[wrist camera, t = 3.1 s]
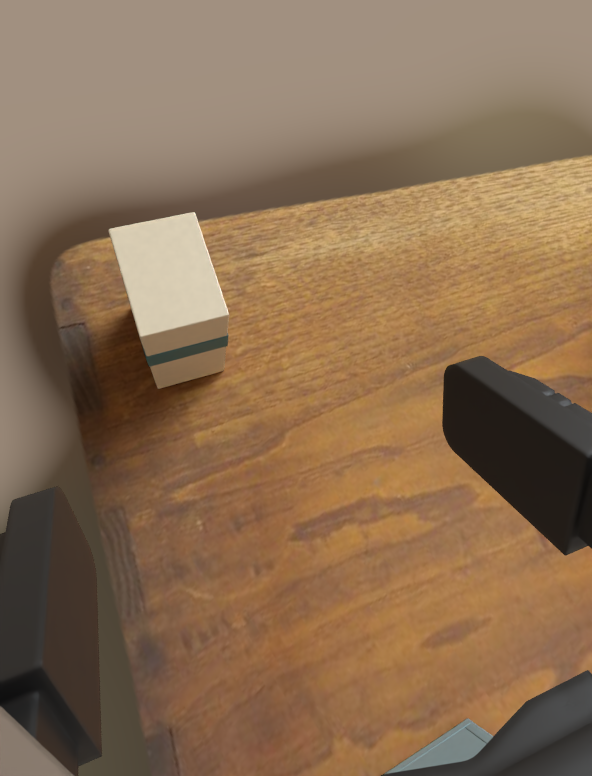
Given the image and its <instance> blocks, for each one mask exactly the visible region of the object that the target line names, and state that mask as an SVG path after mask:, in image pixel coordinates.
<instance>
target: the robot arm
mask: <svg viewBox="0 0 592 776" xmlns="http://www.w3.org/2000/svg"><path fill="white" fill-rule="evenodd" d="M442 424H443V431H444V435H445V438H446V440H447V442H448V444H449V446H450V447H451V448H452V450H453V451H454V452H455V453H456V454H457V455H458V456H459V457H460V458H462V459H463V460H464V461H465V462H466V463H467V464H468V465H469V466H470V467H471V468H472V469H473V470H474V471H475V472H476V473H478V474H479V475H480V476H481V477H482V478H483V479H484V480H485V481H486V482H487V483H488V484H489V485H490V486H491V487H493V488H494V489H495V490H496V491H497V492H498V493H499V494H500V495H501V496H502V497H503V498H504V499H505V500H506V501H507V502H509V503H510V504H511V505H512V506H513V507H514V508H515V509H516V510H517V511H518V512H519V513H520V514H521V515H522V516H523V517H525V518H526V519H527V520H528V521H529V522H530V523H531V524H532V525H533V526H534V527H535V528H536V529H537V530H538V531H539V532H541V533H542V534H543V535H544V536H545V537H546V538H547V539H548V540H549V541H550V542H551V543H552V544H553V545H554V546H556V547H557V548H558V549H559V550H560V551H561V552H562V553H563V554H564V555H565V556H566V555H568V554H570V553H573V552H575V551H577V550H579V549H582V548H584V547H586V546H590V547H591V548H592V413H591V412H589V411H587V410H586V409H584V408H582V407H581V406H579V405H577V404H576V403H574V404H572V403H571V400H569V399H568V398H566V397H564V396H563V395H561V394H559V393H557V394H555V392H554V390H553V389H551V388H549V387H548V386H546V385H544V384H543V383H541V382H540V381H538V380H536V379H535V378H532V377H528V376H525V375H522V374H519V373H516V372H512V371H507V370H506V369H504V368H502V367H501V366H499V365H498V364H496V363H494V362H493V361H491V360H490V359H488V358H486V357H484V356H478V357H475V358H472V359H469V360H465V361H462V362H459V363H456V364H452V365H449V366H448V367H447V368H446V370H445V373H444V391H443V421H442ZM101 756H102V747H101V711H100V677H99V644H98V611H97V578H96V569H95V564H94V559H93V555H92V552H91V549H90V547H89V545H88V542H87V540H86V538H85V536H84V534H83V532H82V530H81V528H80V525H79V523H78V521H77V519H76V517H75V515H74V513H73V511H72V509H71V507H70V505H69V503H68V501H67V499H66V497H65V495H64V493H63V491H62V490H61V488H60V487H58V486H56V487H53V488H50V489H46V490H44V491H40V492H37V493H34V494H30V495H27V496H24V497H21V498H17V499H15V500H13V501H12V503H11V506H10V511H9V517H8V522H7V528H6V532H5V533H2V534H0V776H78V766H81V765H83V764H85V763H88V762H90V761H92V760H94V759H97V758H99V757H101ZM381 776H592V674H591V673H590V672H589V671H588V670H587V671H585V672H583V673H581V674H579V675H577V676H575V677H573V678H571V679H570V680H568V681H566V682H564V683H562V684H560V685H558V686H556V687H554V688H552V689H550V690H548V691H546V692H544V693H542V694H540V695H538V696H536V697H534V698H532V699H530V700H528V701H526V702H525V704H524V705H523V706H522V707H521V708H520V709H519V710H518V711H517V712H516V713H515V714H514V715H513V716H512V717H511V718H510V720H509V721H508V722H507V723H506V724H505V725H504V726H503V727H502V728H501V729H500V730H499V731H498V732H497V733H496V734H495V736H494V737H493V738H492V739H491V740H490V741H489V742H488V743H487V744H486V745H485V746H484V747H483V748H482V749H481V750H480V752H479V753H478V754H476V755H475V756H474V757H473V758H471V759H469V760H466V761H462V762H455V763H449V764H443V765H437V766H431V767H425V768H419V769H413V770H406V771H400V772H394V773H388V774H383V775H381Z"/></svg>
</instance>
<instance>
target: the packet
mask: <svg viewBox="0 0 592 776" xmlns="http://www.w3.org/2000/svg"><path fill="white" fill-rule="evenodd" d="M109 234H110V237H111V241H112V244H113V248H114V251H115V255H116V258H117V261H118V265H119V268H120V272H121V275H122V279H123V282H124V285H125V289H126V292H127V296H128V299H129V303H130V306H131V309H132V313H133V316H134V320H135V323H136V327H137V330H138V333H139V337H140V340H141V343H142V347H143V350H144V354H145V357H146V360H147V363H148V366H149V367H150V368H151V371H152V374H153V377H154V380H155V383H156V385H157V388H158V389H160V388H164V387H167V386H171V385H175V384H178V383H182V382H185V381H189V380H193V379H196V378H200V377H203V376H207V375H211V374H214V373H218V372H221V371H224V365H225V354H226V346H227V345H228V333H227V332H228V321H229V313H228V310H227V307H226V304H225V301H224V298H223V295H222V292H221V289H220V286H219V283H218V280H217V277H216V274H215V271H214V268H213V265H212V262H211V259H210V256H209V253H208V250H207V247H206V244H205V241H204V238H203V235H202V232H201V229H200V226H199V223H198V220H197V218H196V215H195V213H194V212H192V213H187V214H182V215H177V216H172V217H167V218H162V219H157V220H152V221H147V222H142V223H137V224H132V225H127V226H122V227H117V228H112V229H109Z"/></svg>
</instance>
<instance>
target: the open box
mask: <svg viewBox="0 0 592 776" xmlns="http://www.w3.org/2000/svg"><path fill="white" fill-rule="evenodd" d="M492 738H493V736H492V735H491V734H489V733H488V732H486V731H485V730H484V729H482V728H481V727H479V726H478V725H476V724H475V723H474V722H472V721H471V720H470V719H466V720H464V721H463V722H461V723H460V724H458V725H457V726H455V727H454V728H452V729H451V730H449V731H448V732H446V733H445V734H443V735H442V736H441V737H439V738H438V739H436V740H435V741H433V742H432V743H430V744H429V745H427V746H426V747H424V748H423V749H421V750H420V751H418V752H417V753H415V754H414V755H412V756H411V757H409V758H408V759H406V760H405V761H403V762H402V763H400V764H399V765H397V766H396V767H394V768H393V769H391V770H390V771H388V772H387V773H385V774H388V773H394V772H400V771H406V770H413V769H419V768H425V767H431V766H437V765H443V764H449V763H455V762H462V761H466V760H469V759H471V758H473V757H474V756H475V755H476V754H478V753H479V752H480V750H481V749H482V748H483V747H484V746H485V745H486V744H487V743H488V742H489V741H490V740H491V739H492Z"/></svg>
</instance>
